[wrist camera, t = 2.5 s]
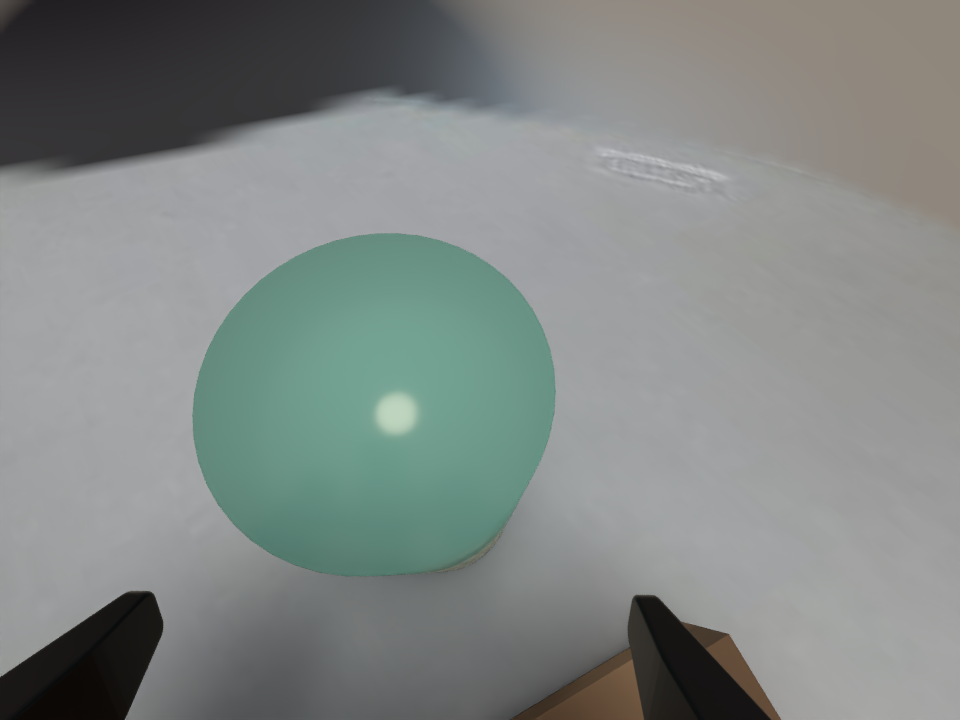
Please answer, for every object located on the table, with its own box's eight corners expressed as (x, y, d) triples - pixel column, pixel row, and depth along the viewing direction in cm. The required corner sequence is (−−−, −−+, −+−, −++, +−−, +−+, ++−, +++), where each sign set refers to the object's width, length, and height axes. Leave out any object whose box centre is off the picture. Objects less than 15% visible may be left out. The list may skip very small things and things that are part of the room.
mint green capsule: (406, 599, 19) (254, 658, 6) (353, 468, 21) (155, 311, 8) (534, 530, 20) (625, 461, 7) (472, 411, 22) (459, 189, 9)
